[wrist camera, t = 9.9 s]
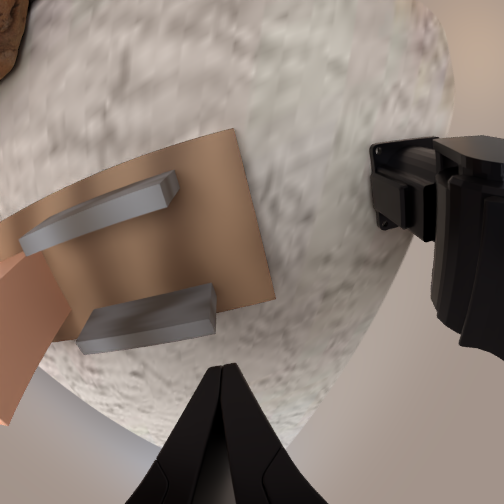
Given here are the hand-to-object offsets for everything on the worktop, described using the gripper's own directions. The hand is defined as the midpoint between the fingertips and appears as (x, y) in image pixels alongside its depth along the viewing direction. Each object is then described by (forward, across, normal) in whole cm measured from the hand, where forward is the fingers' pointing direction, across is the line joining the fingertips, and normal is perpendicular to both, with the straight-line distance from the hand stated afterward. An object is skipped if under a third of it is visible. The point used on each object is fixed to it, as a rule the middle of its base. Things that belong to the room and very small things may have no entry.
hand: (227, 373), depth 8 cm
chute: (+13, +9, 0) cm, 16 cm away
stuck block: (+12, +17, 0) cm, 21 cm away
